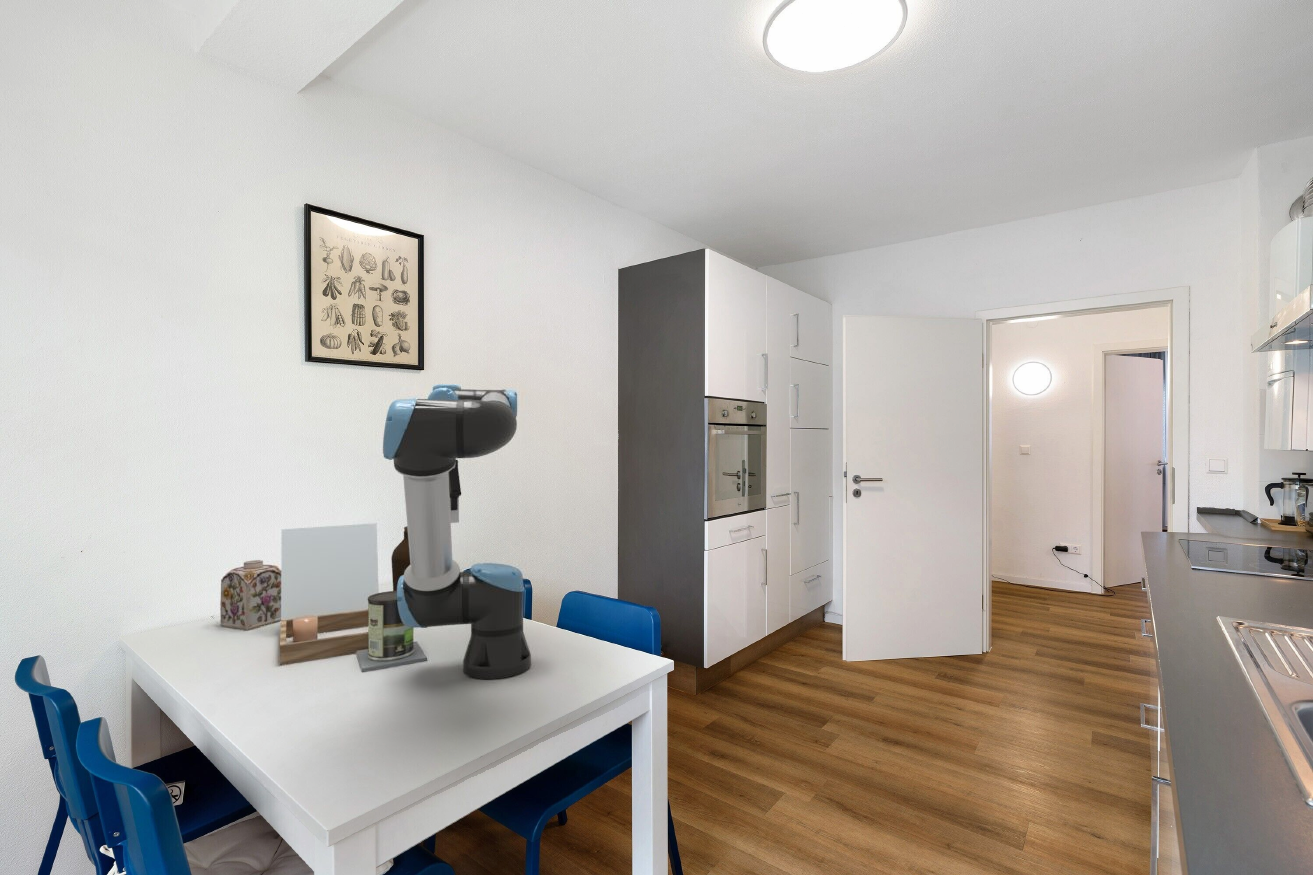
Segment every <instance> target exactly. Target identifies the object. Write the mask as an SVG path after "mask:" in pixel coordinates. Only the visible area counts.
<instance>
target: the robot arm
mask: <svg viewBox="0 0 1313 875" xmlns="http://www.w3.org/2000/svg"><path fill="white" fill-rule="evenodd" d="M517 417H518V393H517V391H516V390H511V389H510V390H508V389H465V388H463V389H462V387H461V386H460V385H458V384H453V383H450V384H449V383H440V384H439V383H438V384H434V385H433V386H432V390H431V392H430V393H429V395H428V396H427V398H417V397H415V398H414V397H413V398H404V399H403V398H402V399H401V398H400V399H396V400H394V401H392V402H391V403H390V405H389V407H388V410H387V412H386V418H385V424H384V430H383V437H382V438H383V440H382V454H383V458H384V459H386V460H389V461H391V460H393V466H394V470H395V471H396V472H397V473H398V474H400V475H402V476H403V487H404V488H403V489H404V500H405V501H404V503H405V512H406V515H405V516H406V526H407V527H408V540H409V552H410V564H411V565H409V566H408V567H407V569H406V570H405V572H404V575H402V576H401V577H400V578H399V580H398V585H397V599H398V602H397V604H398V610H399V615H400V618H401V620H402V622H403V624H404V625H406V626H407V627H411V628H414V629H416V628H419V629H428V628H432V627H443V626H445V627H446V626H447V627H448V626H455V625H456V626H458V625H470V639H469V641H468V643H467V646H466V650H465V653H464V657H463V661H462V672H463V674H464V675H466V676H468V677H470V678H474V679H481V680H482V679H483V680H493V679H494V680H495V679H503V678H509V677H514V676H517V675H520V674H522V673H524V672H526V671H528V670H529V668H530V667H531V666H532V654H531V651H530V646H529V644H528V642H527V639H526V638H527V637H526V636H525V632H524V591H525V587H524V580H523V578H524V577H523V573H522V571H521V570H520V569H519V568H518V567H516V566H513V565H509V564H505V563H497V562H495V563H493V562H483V563H480V562H479V563H475V564H474V563H473V564H472V565H471V568H470V569H469V571H461V567H460V565H459V563H457V561H455V560H454V559H453V543H452V540H453V539H452V524H453V523H454V524H458V523H459V521H460V507H459V506H460V505H459V504H460V497H461V496H462V491H461V490H462V488H461V481H460V473H459V460H458V459H474V458H475V459H476V458H479V457H483V456H487V455H490V454H491V453H495V452H496V451H498V450H500V449H502V448H503V447H505V446H506V445H508V444H509V443H510V442H511V440H512V439H513V438H514V437H515V434H516V433H517V428H518V424H517Z"/></svg>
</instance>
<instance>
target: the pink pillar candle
mask: <svg viewBox="0 0 1313 875" xmlns="http://www.w3.org/2000/svg"><path fill="white" fill-rule="evenodd" d="M318 634H319V633H318V617H317V616H302V617H298V618H295V619H293V637H292V643H294V642H301V641H308V640H315V639H319V638H318Z"/></svg>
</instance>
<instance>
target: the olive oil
mask: <svg viewBox="0 0 1313 875" xmlns="http://www.w3.org/2000/svg"><path fill="white" fill-rule="evenodd" d="M403 529H404V531H403V539H401V542H400V543H398V545H397V546H395V548H394V549H393V550H392V554H391V559H390V560H391V573H392V574H391V575H392V576H391V577H392V578H391V579H392V591H397V585H398V580H399V578H400V577H401V576H402V575H404V572H405V570H406V569H407V567H408V566H409V565H411V564H410V552H409V540H408V527H407V525H406V526H404V528H403Z"/></svg>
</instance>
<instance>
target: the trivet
mask: <svg viewBox="0 0 1313 875" xmlns="http://www.w3.org/2000/svg"><path fill="white" fill-rule="evenodd" d="M355 655H356V657H357V661H358V664H359V667H360V670H361V672H362V673H365V672H371V671H376V670H382V669H383V670H384V669H388V668H392V667H393V668H394V667H400V666H407V665H410V664H411V665H412V664H416V663H422V662H427V661H428V657H427V655H426V653H425V652H424V650H423V649H422V647H421V646H420V644H419V643H418V641H416V640H414V652H413V653H412V654H411V655H409V656H407V657H404V658H401V659H396V660H389V661H375V660H371V659H369V658H368V649H365V650H359V651H356V653H355Z"/></svg>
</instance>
